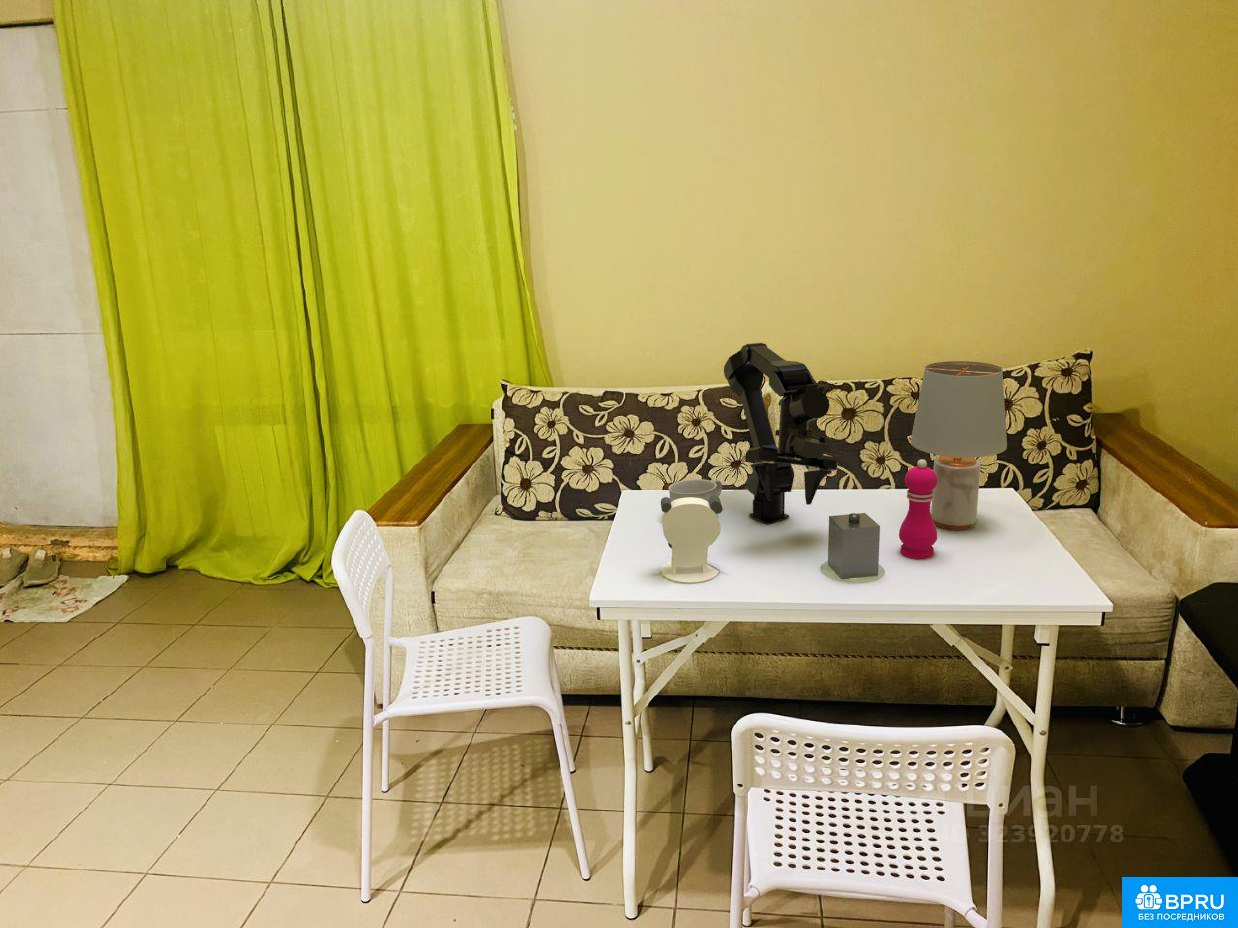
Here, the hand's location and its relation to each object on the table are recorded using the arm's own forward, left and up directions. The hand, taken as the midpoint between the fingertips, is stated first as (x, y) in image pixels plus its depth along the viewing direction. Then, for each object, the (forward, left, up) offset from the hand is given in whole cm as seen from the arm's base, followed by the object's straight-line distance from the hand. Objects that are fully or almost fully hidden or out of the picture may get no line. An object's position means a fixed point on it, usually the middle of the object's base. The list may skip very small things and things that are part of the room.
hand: (789, 502), depth 186 cm
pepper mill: (-18, +17, -11) cm, 27 cm away
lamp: (-37, +10, -11) cm, 40 cm away
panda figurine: (+21, -4, -11) cm, 24 cm away
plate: (-3, +15, -11) cm, 19 cm away
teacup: (+3, -27, -11) cm, 29 cm away
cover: (-3, +15, -10) cm, 18 cm away
